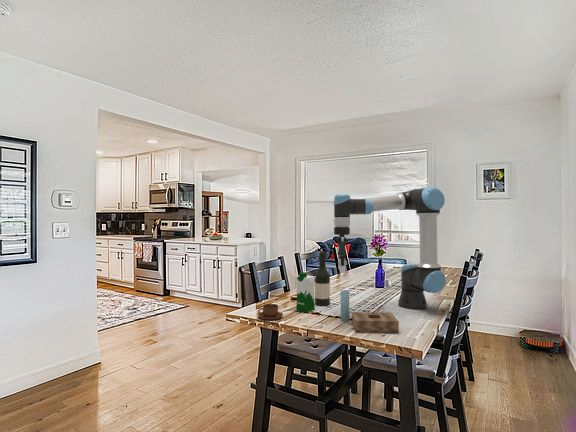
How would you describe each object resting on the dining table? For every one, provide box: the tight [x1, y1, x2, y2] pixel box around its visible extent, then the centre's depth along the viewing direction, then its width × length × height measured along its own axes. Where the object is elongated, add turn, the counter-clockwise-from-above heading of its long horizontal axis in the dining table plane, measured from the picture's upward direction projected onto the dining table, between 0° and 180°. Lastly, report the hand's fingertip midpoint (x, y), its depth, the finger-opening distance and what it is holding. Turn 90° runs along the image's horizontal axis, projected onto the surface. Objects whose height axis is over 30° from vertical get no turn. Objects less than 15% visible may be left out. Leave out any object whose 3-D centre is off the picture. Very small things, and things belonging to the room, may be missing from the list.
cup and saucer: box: [257, 303, 283, 321], centre depth 180 cm, size 12×12×6 cm
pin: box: [340, 289, 350, 323], centre depth 175 cm, size 4×4×14 cm
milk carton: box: [294, 271, 316, 314], centre depth 194 cm, size 9×9×20 cm
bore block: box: [351, 311, 400, 334], centre depth 163 cm, size 18×14×5 cm
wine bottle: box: [314, 250, 331, 307], centre depth 207 cm, size 8×8×30 cm
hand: (341, 270), depth 177 cm, fingers open, 13 cm apart
